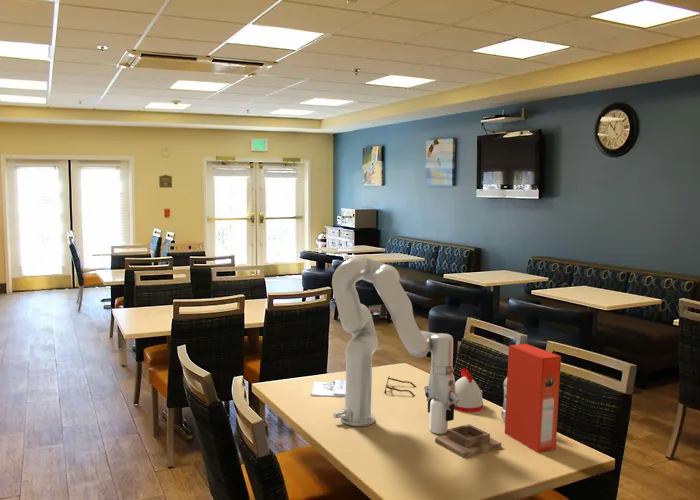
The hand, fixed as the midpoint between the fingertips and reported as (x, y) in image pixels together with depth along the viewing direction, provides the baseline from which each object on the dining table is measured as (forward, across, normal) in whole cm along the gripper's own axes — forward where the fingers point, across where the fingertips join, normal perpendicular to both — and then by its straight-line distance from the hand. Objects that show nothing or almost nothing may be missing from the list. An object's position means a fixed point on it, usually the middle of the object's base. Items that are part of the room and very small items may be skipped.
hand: (440, 416), depth 218 cm
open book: (+5, +56, +9) cm, 58 cm away
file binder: (+6, -22, -22) cm, 31 cm away
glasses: (+6, +43, -15) cm, 46 cm away
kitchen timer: (+6, +16, -27) cm, 31 cm away
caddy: (+6, -14, -1) cm, 15 cm away
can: (+6, 0, 0) cm, 6 cm away
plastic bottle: (+6, -6, -30) cm, 31 cm away
